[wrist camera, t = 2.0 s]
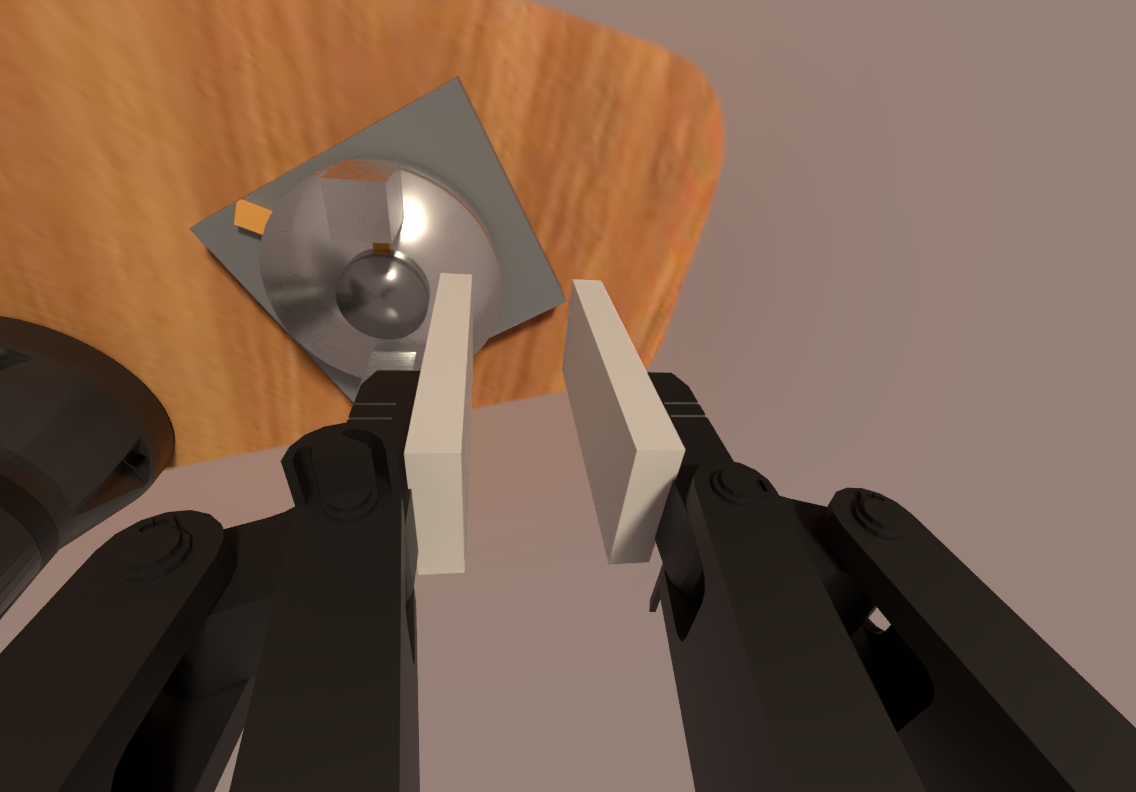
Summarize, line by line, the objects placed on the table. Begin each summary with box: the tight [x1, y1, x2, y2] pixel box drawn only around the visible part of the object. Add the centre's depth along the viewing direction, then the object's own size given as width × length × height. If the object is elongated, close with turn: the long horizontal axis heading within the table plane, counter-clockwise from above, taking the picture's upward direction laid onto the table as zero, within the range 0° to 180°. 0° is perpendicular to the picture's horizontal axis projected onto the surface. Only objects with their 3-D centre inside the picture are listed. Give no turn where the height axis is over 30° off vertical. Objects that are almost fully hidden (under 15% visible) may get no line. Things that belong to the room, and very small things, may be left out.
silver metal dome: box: [260, 155, 502, 391], centre depth 25 cm, size 12×12×7 cm
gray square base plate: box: [189, 77, 566, 403], centre depth 28 cm, size 16×13×3 cm
